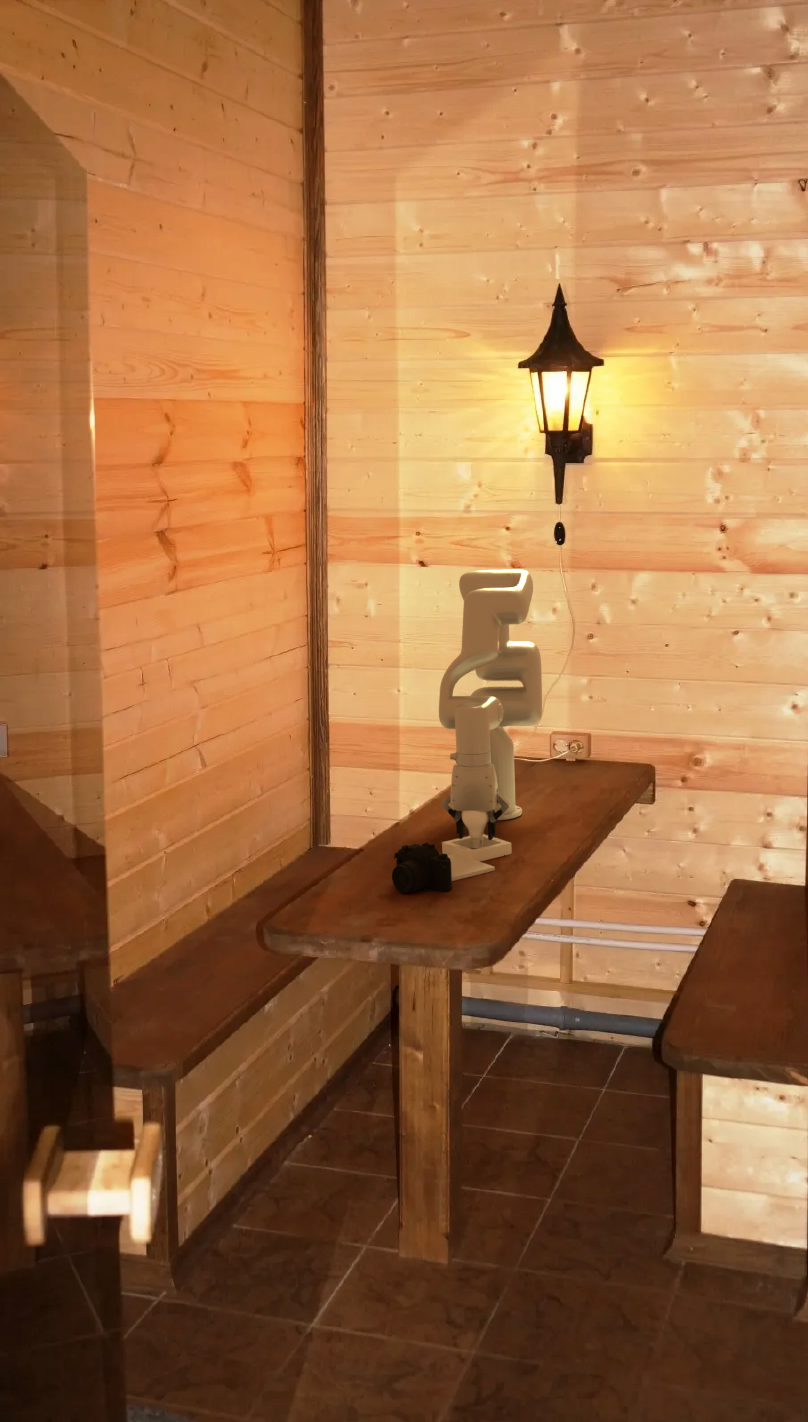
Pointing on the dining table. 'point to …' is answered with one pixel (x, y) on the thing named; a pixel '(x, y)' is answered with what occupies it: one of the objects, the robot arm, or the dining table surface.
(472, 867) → the felt mat
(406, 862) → the film camera
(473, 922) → the dining table surface
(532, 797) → the dining table surface
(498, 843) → the socket collar
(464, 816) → the lightbulb
